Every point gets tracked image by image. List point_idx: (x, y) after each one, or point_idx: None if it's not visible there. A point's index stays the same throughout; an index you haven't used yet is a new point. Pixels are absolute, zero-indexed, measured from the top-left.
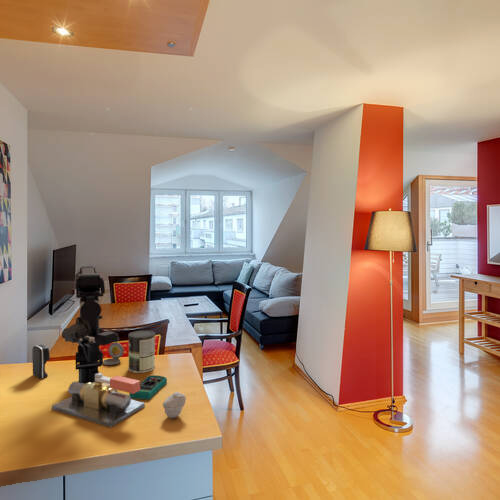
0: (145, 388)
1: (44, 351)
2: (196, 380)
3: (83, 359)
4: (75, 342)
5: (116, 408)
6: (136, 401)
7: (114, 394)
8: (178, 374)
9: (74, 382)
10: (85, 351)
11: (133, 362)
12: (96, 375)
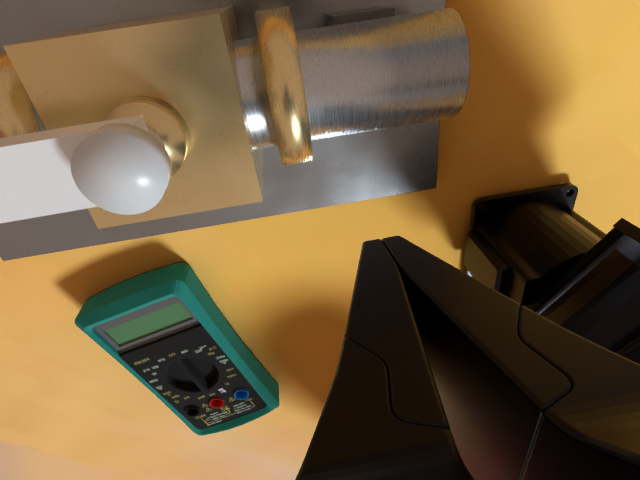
0: (155, 341)
1: None
2: (131, 473)
3: (613, 293)
4: None
5: None
6: (55, 245)
7: None
8: (236, 463)
9: (451, 71)
10: (479, 323)
11: None
12: (97, 139)
